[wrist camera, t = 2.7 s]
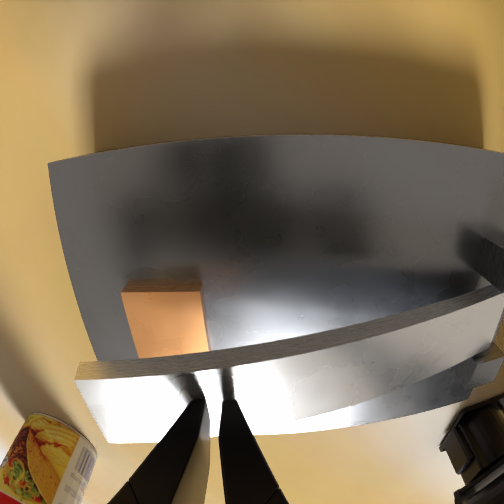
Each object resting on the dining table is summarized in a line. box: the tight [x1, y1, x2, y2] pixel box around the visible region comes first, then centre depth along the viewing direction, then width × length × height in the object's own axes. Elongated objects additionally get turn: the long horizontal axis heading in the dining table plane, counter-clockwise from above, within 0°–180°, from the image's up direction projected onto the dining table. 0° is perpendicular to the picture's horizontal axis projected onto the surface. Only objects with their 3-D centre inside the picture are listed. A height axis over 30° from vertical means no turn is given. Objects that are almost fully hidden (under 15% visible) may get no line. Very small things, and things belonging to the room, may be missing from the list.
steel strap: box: [74, 285, 504, 443], centre depth 9 cm, size 16×3×1 cm, turn 91°
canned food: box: [0, 413, 97, 504], centre depth 17 cm, size 8×8×12 cm
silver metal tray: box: [48, 134, 504, 435], centre depth 13 cm, size 20×14×6 cm
